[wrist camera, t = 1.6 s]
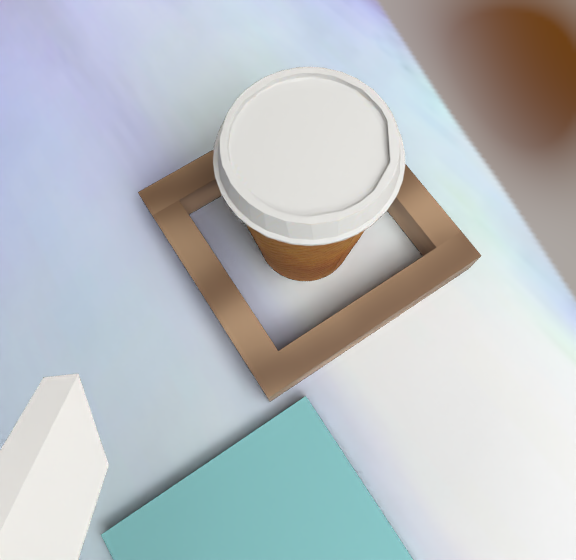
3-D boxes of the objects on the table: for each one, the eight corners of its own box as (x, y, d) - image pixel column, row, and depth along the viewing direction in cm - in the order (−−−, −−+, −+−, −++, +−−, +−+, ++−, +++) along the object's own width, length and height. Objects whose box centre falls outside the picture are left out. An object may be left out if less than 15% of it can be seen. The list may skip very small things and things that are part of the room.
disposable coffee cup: (333, 330, 34) (352, 270, 23) (210, 262, 36) (170, 175, 24) (397, 214, 36) (444, 108, 25) (279, 156, 38) (273, 31, 27)
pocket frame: (147, 208, 37) (137, 192, 34) (333, 102, 39) (335, 80, 37) (270, 401, 33) (268, 398, 30) (468, 268, 35) (481, 255, 33)
